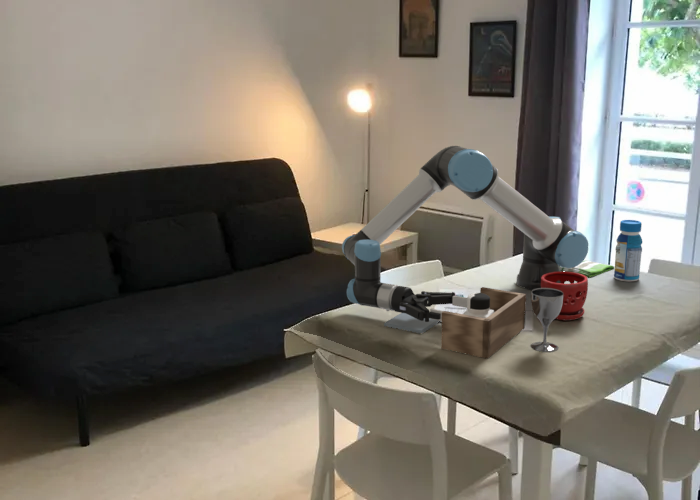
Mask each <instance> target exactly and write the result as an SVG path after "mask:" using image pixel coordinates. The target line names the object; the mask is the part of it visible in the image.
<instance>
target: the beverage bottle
mask: <svg viewBox="0 0 700 500" xmlns="http://www.w3.org/2000/svg"><path fill="white" fill-rule="evenodd" d="M641 231H642V222H641V221H640V220H636V219H622V220H621V221H620V223H619V232H620V233H619V235H618V236H617V238H616V243H617V244H616V246H615V259H614V260H615V261H614V269H613V270H614V274H613V277H614V279H615V280H617V281H621V282H632V283H633V282H637V281H638V280H639V279H640V271H641V262H642V252H643V247H642V244H643V239H642V237H641V234H640V233H641Z"/></svg>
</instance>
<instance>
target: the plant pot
mask: <svg viewBox="0 0 700 500" xmlns="http://www.w3.org/2000/svg"><path fill="white" fill-rule="evenodd" d="M557 281H560V283H556V282H557ZM566 282H569V283H566ZM541 288H553V289H557V290H560V291H562V292H563V304H562V308H561V311H560V314H559V315H558V316H557V317H556V318H555V319H554V320H559V321H573V320H577V319H580V318H582V317H583V315H584V314H585V311H586V310H585V309H584V308H583V307H584V305H585V303H586V299H587V295H588V289H589V279H588V277H586V276H584V275H582V274H579V273H574V272H563V271H561V272H551V273H547V274H544V275H543V276H542V277H541Z"/></svg>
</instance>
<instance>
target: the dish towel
mask: <svg viewBox="0 0 700 500" xmlns="http://www.w3.org/2000/svg"><path fill="white" fill-rule="evenodd" d="M560 270H561V271H565V272H574V273H579V274H582V275H584V276H586V277H587V279H588V278H591V277H595V276H597V275H600V274H604V273H606V272H609V271H612V270H615V265H614V266H613V265H609V264H605V263H600V262H596V261H595V262H594V261H590V260H585V259H584V260H583V262H582V263H581V264H579V265H578V266H576V267H573V268H565V267H560Z"/></svg>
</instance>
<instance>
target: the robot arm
mask: <svg viewBox="0 0 700 500" xmlns="http://www.w3.org/2000/svg"><path fill="white" fill-rule="evenodd" d="M450 185H451V186H453V187H455V188H457V189H458V190H459V191H460V192H462V193H463V194H465V195H466V196H467V197H469V198H470V199H471V200H473V201H476V200H480V201H482V202H483V203H485V204H486V205H487V206H489V208H491V209H492V210H493V211H495V212H496V213H497V214H499V216H501V217H502V218H503V219H505V220H506V221H507V222H509V223H510V224H512V225H513V226H514V227H515V228H516V229H518V230H519V231H521V233H523V248H522V262H521V266H520V268H519V271H518V274H517V275H516V281H515V282H516V285H517V286H518V287H520V288H522V289H525V290H531V291H532V290H534V289H537V288H541V277H542V276H543V275H544V274H547V273H551V272H561V270H560V267H565V268H573V267H576V266H578V265H579V264H581V263H582V262H583V260H585V259H586V258H587V255H588V252H589V241H588V239H587V237H586V235H584V234H583V233H582V232H580V231H578V230H575V229H573V228H571V227H570V226H569V225H568V224H567V223H566V222H564V221H563V220H562V218H561V217H560V216H550V215H549V216H548V215H547V214H546V213H545V212H544V211H542V210H541V209H540V208H539V207H537V206H536V205H535V204H533V203H532V202H531V201H530V200H529V199H528V198H526V197H525V196H524V195H522V194H521V193H520V192H519V191H518V190H516V189H515V188H514V187H512V186H511V185H510V184H509V183H507V182H506V181H505V180H503V178H501V177H500V176H499V169H498V168H497V167H496V166H495V165H493V164H492V161H491V160H490V159H489V158H488V157H487V156H486V154H484V153H483V152H481V151H479V150H477V149H472V148H466V147H463V146H460V145H459V146H458V145H450V146H447V147H445V148H443V149H441V150H439V151H438V152H436V154H434V155H433V156H432V157H431V158H430V159H429V160H428V161H427V162H426V163H425V164H424V165H422V166H421V167H420V169H419V170H418V175H417V176H416V177H414V178H413V180H412V181H411V182H409V184H407V186H405V187H404V188H403V189H402V190H401V191H400V192H399V193H398V194H397V195H396V196H394V198H392V200H391V201H389V203H388V204H386V205H385V206H384V207H383V208H382V209H381V210H380V211H379V212H378V213H377V214H376V215H375V216H374V217H373V218H371V220H369V221H368V223H366V225H364V226H363V227H362V228H361V229H360V230H359V231H358V232H357V233H356V234H355V235H354V234H353V235H350V236H347V237H345V239H344V240H343V241H342V244H341V250H342V253H343V254H344V256H345V258H346V260H348V261H350V263H351V264H352V265H354V272H355V273H354V278H352V279H350V280H349V282H348V284H347V288H346V297H347V300H349V302H350V303H353V304H356V305H360V306H364V307H370V308H377V309H383V310H385V311H386V312H390V311H393V312H396V313H399V314H401V313H406V314H408V315H410V316H412V317H414V318H416V319H418V320H420V321H423V320H424V318H425V322H429V318H430V319H433V320H438V321H441V322H442V312H443V311H444V310H440V309H436V308H430V307H432V306H437V305H438V306H439V305H452V306H453V307H460V308H466V309H467V297H466V296H465V297H463V296H458V295H456V292H455V291H451V292H446V291H445V292H440V291H438V292H437V291H433V292H432V291H424V290H422V291H420V293H416V294H415V293H414V291H413V289H412V288H411V287H408V286H403V285H397V284H392V283H387V282H386V283H385V282H382V281H381V278H382V277H381V273H382V272H381V261H382V260H381V259H382V258H381V256H382V251H381V245H382V244H383V243H384V242H385V240H387V239H388V238H389V237H390V236H391V235H392V234H393V233H394V232H396V230H398V228H400V227H401V225H403V223H405V222H406V221H407V220H408V219H409V218H410V217H411V216H413V214H415V212H417V211H418V209H420V208H421V207H422V206H423V205H424V204H425V203H426V202H427V201H428V200H429V199H431V197H433V195H434V194H436V193H442V192H443V190H444V189H446V188H447V187H448V186H450ZM556 283H560V281H557V282H556ZM428 307H429V308H430V309H429V308H428Z"/></svg>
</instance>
